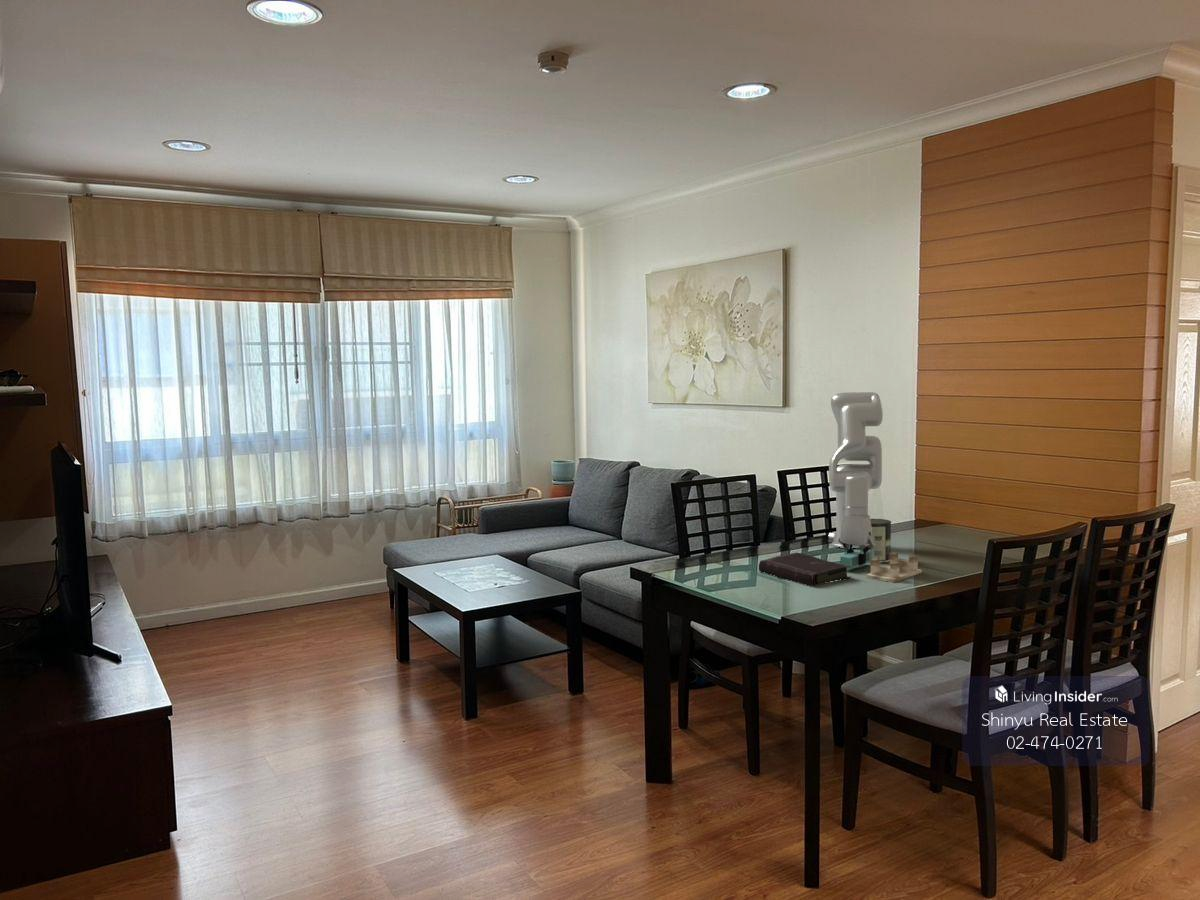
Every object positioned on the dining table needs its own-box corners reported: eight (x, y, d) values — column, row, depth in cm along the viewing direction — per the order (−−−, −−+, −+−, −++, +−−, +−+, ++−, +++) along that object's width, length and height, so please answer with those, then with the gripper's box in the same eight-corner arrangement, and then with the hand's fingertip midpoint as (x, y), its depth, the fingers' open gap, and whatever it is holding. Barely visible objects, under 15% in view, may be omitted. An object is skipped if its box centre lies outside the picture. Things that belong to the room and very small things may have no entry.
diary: (811, 589, 273) (811, 573, 272) (758, 574, 294) (758, 560, 293) (853, 579, 282) (852, 564, 281) (798, 565, 303) (798, 551, 303)
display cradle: (866, 577, 282) (866, 560, 281) (894, 568, 294) (894, 551, 293) (894, 582, 275) (894, 564, 274) (921, 572, 287) (922, 555, 286)
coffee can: (879, 555, 313) (879, 517, 312) (897, 561, 303) (897, 522, 302) (854, 558, 310) (854, 519, 309) (872, 564, 300) (872, 524, 299)
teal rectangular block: (840, 567, 292) (840, 556, 291) (862, 559, 301) (862, 548, 301) (850, 569, 289) (850, 558, 289) (871, 561, 299) (871, 550, 298)
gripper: (829, 509, 297) (829, 561, 299) (872, 515, 284) (872, 569, 287) (841, 506, 302) (841, 557, 304) (884, 512, 289) (884, 565, 292)
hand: (856, 562), depth 295 cm, fingers closed on teal rectangular block, 3 cm apart
